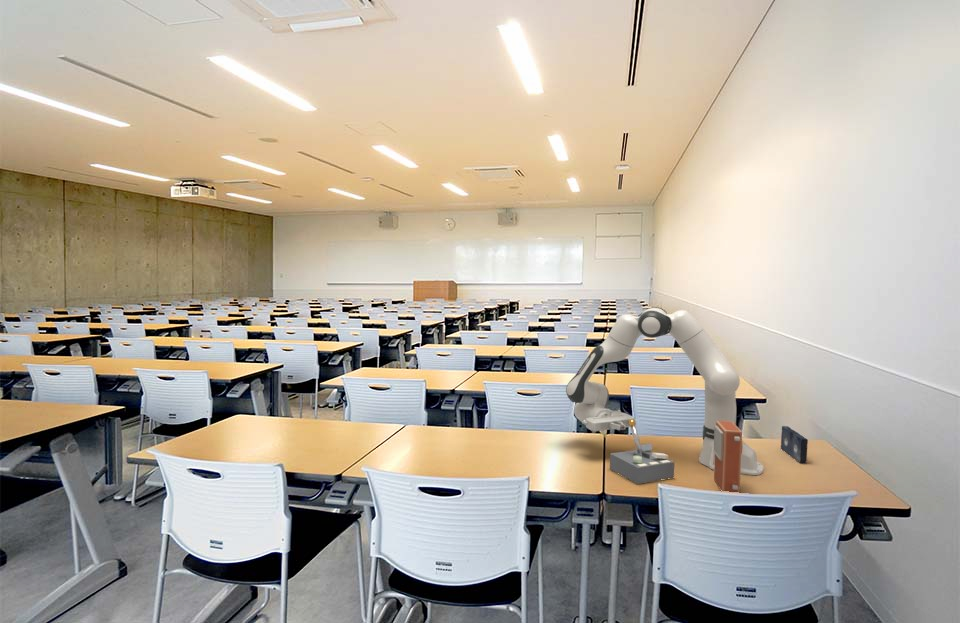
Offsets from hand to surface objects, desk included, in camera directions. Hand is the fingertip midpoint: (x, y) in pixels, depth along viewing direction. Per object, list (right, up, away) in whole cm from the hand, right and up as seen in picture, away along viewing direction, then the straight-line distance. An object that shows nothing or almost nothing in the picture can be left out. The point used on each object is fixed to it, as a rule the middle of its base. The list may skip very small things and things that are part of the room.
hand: (622, 427), depth 205 cm
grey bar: (+8, -8, -4) cm, 12 cm away
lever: (+4, -8, -10) cm, 14 cm away
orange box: (+30, -16, -21) cm, 40 cm away
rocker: (+10, -7, -12) cm, 18 cm away
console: (+4, -15, -10) cm, 18 cm away
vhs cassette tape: (+72, -14, +11) cm, 74 cm away
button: (+1, -9, -16) cm, 18 cm away
